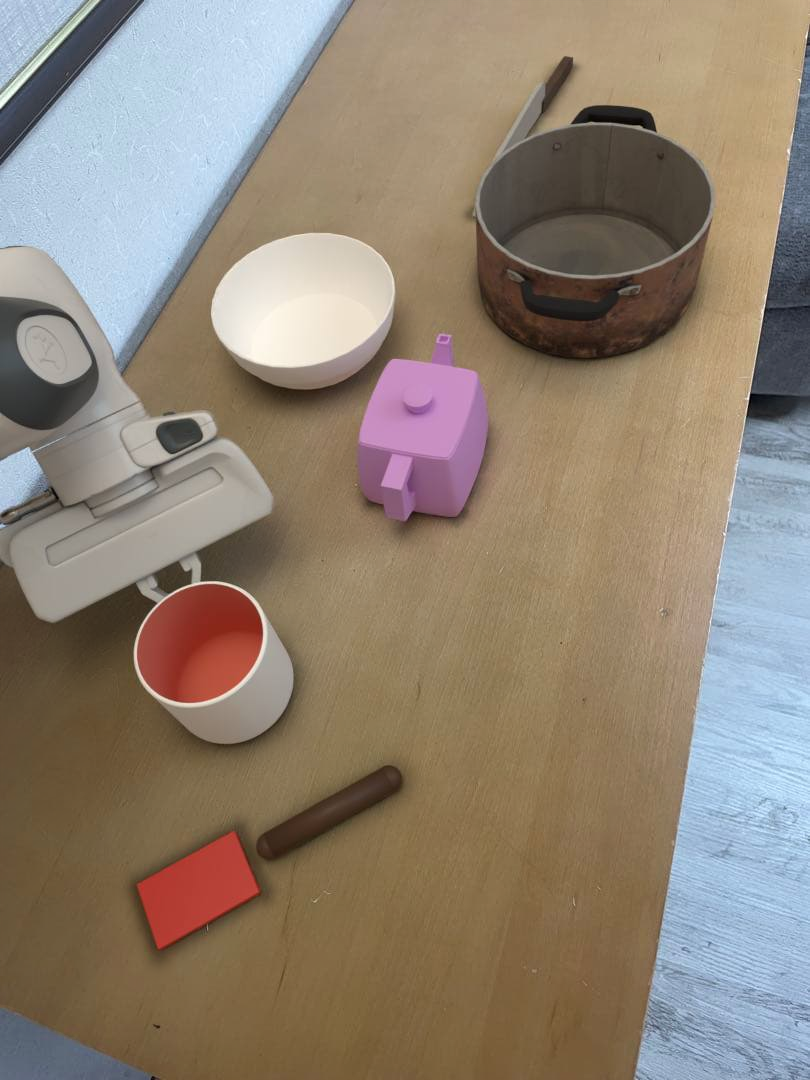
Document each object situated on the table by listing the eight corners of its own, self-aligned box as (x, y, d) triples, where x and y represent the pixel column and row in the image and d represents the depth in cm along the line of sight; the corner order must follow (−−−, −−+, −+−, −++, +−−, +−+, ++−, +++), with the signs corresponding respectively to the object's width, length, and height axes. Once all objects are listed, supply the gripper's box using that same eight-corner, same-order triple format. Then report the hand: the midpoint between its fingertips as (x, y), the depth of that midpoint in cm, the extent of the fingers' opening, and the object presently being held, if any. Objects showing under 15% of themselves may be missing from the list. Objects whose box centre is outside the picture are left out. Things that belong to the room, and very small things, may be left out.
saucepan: (512, 179, 99) (512, 92, 90) (710, 198, 94) (731, 107, 85) (445, 372, 85) (438, 292, 76) (673, 407, 80) (694, 325, 71)
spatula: (160, 950, 61) (150, 948, 59) (139, 885, 63) (128, 881, 61) (417, 804, 64) (414, 798, 62) (387, 747, 66) (383, 740, 65)
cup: (161, 672, 72) (113, 623, 63) (265, 613, 74) (233, 557, 65) (207, 772, 67) (162, 733, 58) (317, 706, 69) (290, 660, 60)
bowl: (199, 388, 88) (175, 339, 81) (283, 270, 95) (268, 216, 89) (355, 438, 82) (342, 389, 76) (431, 308, 90) (425, 254, 84)
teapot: (402, 380, 85) (390, 305, 76) (505, 396, 83) (504, 320, 74) (346, 529, 77) (324, 464, 68) (457, 552, 75) (450, 488, 66)
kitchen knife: (566, 38, 106) (468, 182, 93) (574, 40, 106) (477, 184, 93) (563, 72, 110) (469, 215, 97) (572, 73, 109) (478, 217, 96)
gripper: (-32, 529, 60) (68, 688, 64) (227, 404, 64) (309, 563, 67) (-14, 516, 66) (77, 663, 70) (223, 403, 70) (298, 549, 73)
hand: (192, 613), depth 69 cm, fingers closed, pressing on cup
